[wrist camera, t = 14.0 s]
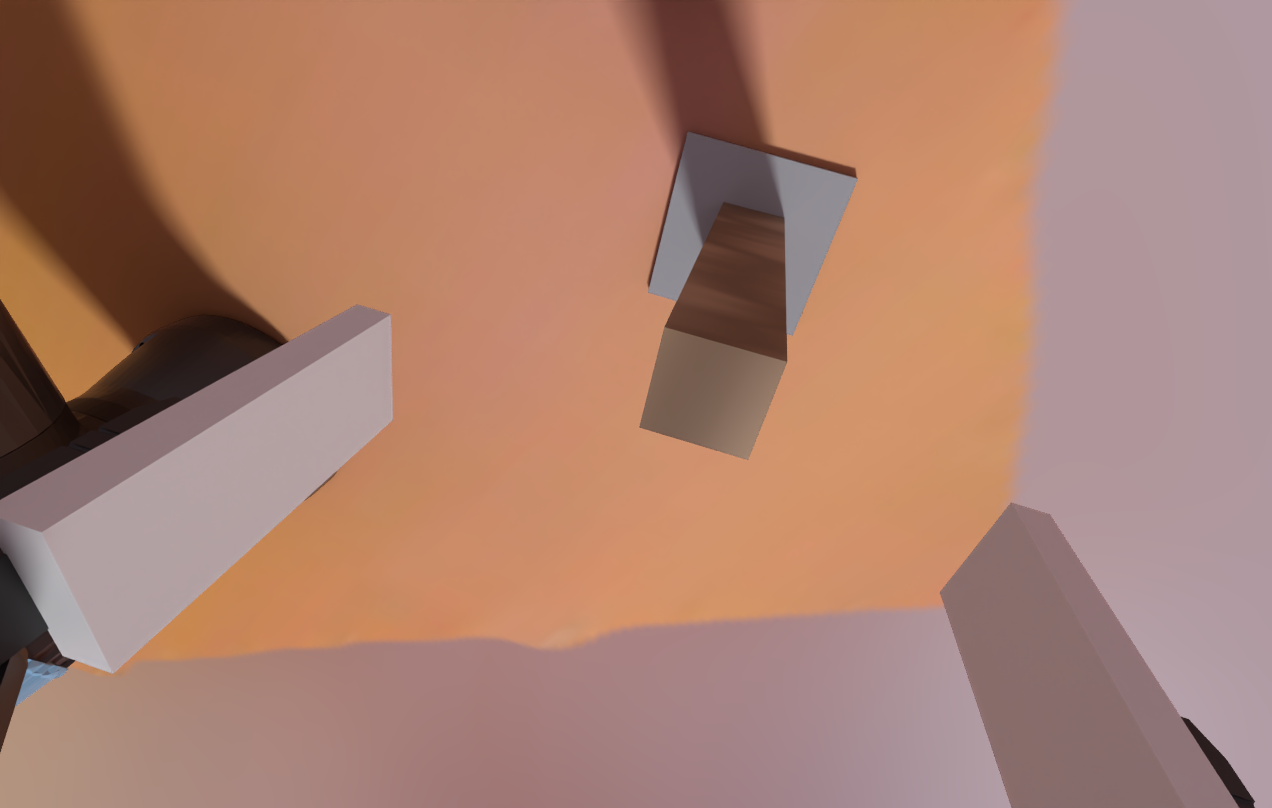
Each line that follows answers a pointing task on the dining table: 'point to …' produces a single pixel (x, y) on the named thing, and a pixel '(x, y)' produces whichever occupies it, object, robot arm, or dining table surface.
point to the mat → (755, 184)
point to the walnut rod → (724, 337)
